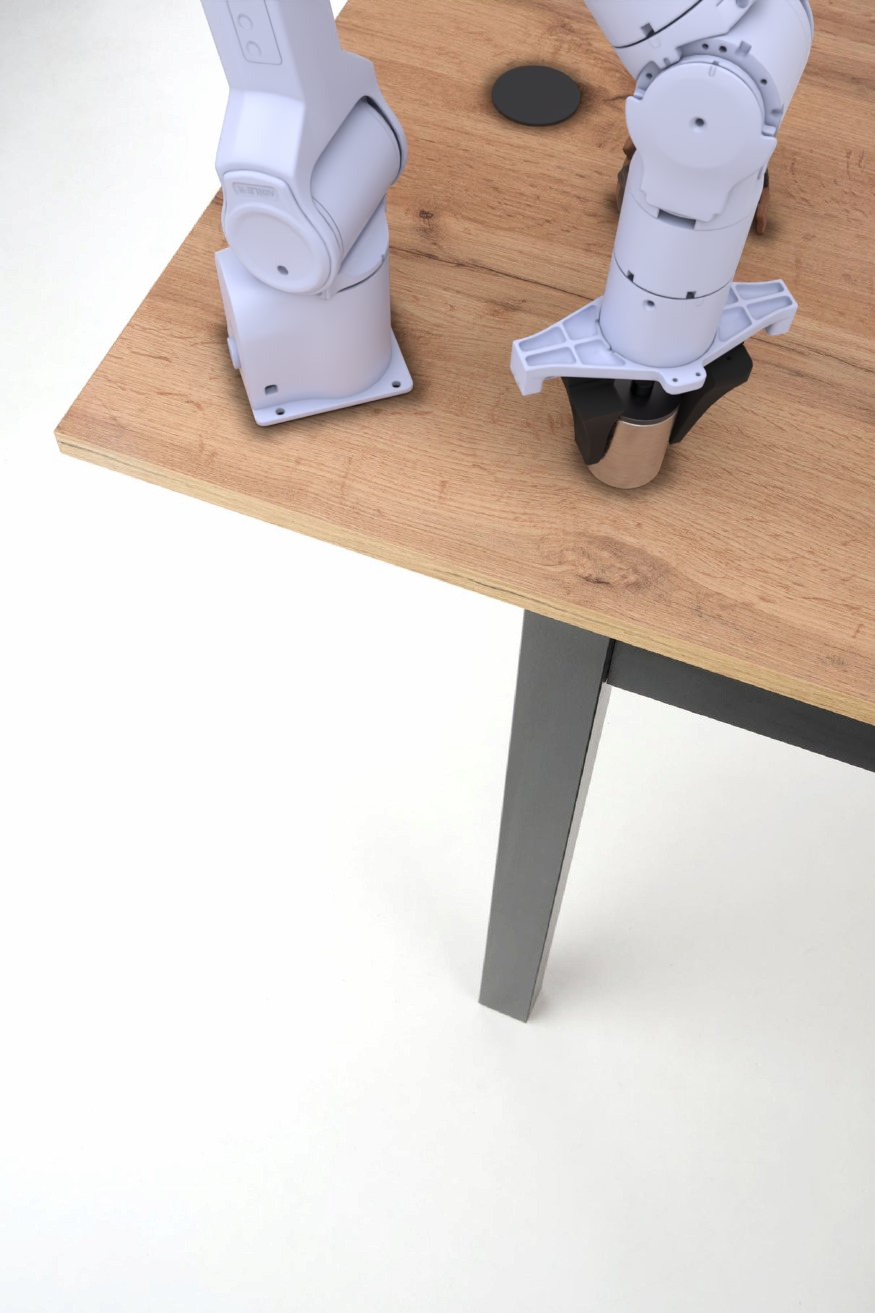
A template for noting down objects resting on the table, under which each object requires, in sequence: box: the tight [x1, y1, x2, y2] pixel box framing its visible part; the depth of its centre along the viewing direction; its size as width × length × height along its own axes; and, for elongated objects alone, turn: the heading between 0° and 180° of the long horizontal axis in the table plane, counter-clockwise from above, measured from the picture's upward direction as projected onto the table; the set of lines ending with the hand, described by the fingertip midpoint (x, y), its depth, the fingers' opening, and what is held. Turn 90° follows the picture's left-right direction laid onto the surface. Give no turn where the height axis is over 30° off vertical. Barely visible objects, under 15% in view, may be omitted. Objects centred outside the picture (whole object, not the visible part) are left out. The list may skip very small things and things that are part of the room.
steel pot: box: [586, 379, 683, 490], centre depth 64 cm, size 4×4×7 cm
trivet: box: [491, 64, 581, 127], centre depth 82 cm, size 6×6×1 cm
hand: (626, 440), depth 66 cm, fingers closed on steel pot, 4 cm apart
